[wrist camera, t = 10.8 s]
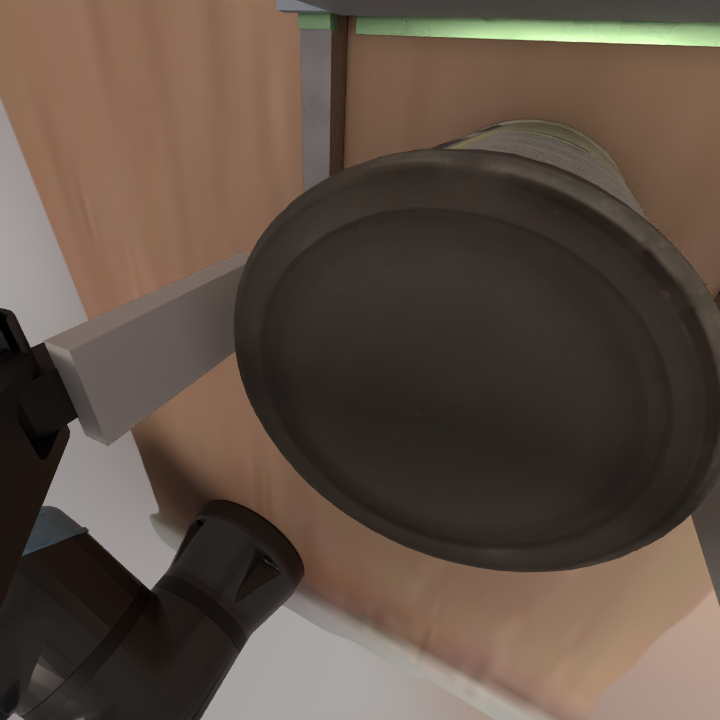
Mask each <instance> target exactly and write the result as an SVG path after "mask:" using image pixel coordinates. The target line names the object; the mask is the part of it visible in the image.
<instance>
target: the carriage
mask: <svg viewBox="0 0 720 720" xmlns="http://www.w3.org/2000/svg"><path fill="white" fill-rule="evenodd" d="M276 10H278V11H281V12H285V13H335V14H338V15H351V16H404V17H456V18H509V19H562V20H615V21H667V22H720V0H276Z"/></svg>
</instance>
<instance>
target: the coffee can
mask: <svg viewBox="0 0 720 720" xmlns="http://www.w3.org/2000/svg"><path fill="white" fill-rule="evenodd" d="M234 336H235V349H236V356H237V362H238V367H239V371H240V375H241V379H242V382H243V385H244V388H245V391H246V393H247V396H248V398H249V401H250V403H251V405H252V407H253V408H254V411H255V413H256V415H257V417H258V418H259V420H260V422H261V423H262V425H263V427H264V429H265V431H266V432H267V434H268V435H269V437H270V438H271V439H272V441H273V442H274V444H275V445H276V446H277V448H278V449H279V451H280V452H281V453H282V454H283V456H284V457H285V458H286V459H287V461H288V462H289V463H290V464H291V465H292V466H293V468H294V469H295V470H296V471H297V472H298V473H299V474H300V475H301V476H302V477H303V478H304V480H305V481H306V482H307V483H308V484H309V485H311V486H312V487H313V488H314V489H315V490H316V491H318V492H319V493H320V494H321V495H322V496H323V497H324V498H326V499H327V500H328V501H329V502H331V503H332V504H333V505H335V506H336V507H337V508H339V509H340V510H341V511H343V512H344V513H346V514H347V515H348V516H350V517H352V518H353V519H355V520H356V521H358V522H360V523H361V524H363V525H364V526H366V527H368V528H369V529H371V530H373V531H374V532H376V533H379V534H381V535H383V536H385V537H386V538H388V539H390V540H393V541H395V542H397V543H399V544H401V545H403V546H405V547H408V548H411V549H413V550H416V551H419V552H421V553H424V554H427V555H430V556H432V557H436V558H439V559H443V560H446V561H450V562H454V563H459V564H463V565H468V566H473V567H479V568H485V569H491V570H498V571H514V572H548V571H563V570H572V569H577V568H583V567H588V566H592V565H596V564H600V563H603V562H607V561H611V560H614V559H617V558H620V557H623V556H625V555H627V554H629V553H631V552H633V551H637V550H638V549H640V548H642V547H644V546H647V545H649V544H651V543H653V542H654V541H656V540H658V539H660V538H661V537H663V536H664V535H666V534H667V533H668V532H670V531H671V530H672V529H674V528H675V527H676V526H678V525H679V524H681V523H682V522H683V521H684V520H685V519H686V518H687V517H688V516H689V515H690V514H691V513H692V512H693V511H695V510H696V509H697V508H698V507H699V506H700V505H701V503H702V502H703V500H704V499H705V498H706V496H707V495H708V494H709V492H710V491H711V490H712V489H713V487H714V486H715V484H716V483H717V482H718V480H719V478H720V312H719V310H718V308H717V305H716V303H715V302H714V300H713V298H712V296H711V294H710V292H709V291H708V289H707V287H706V285H705V284H704V282H703V281H702V279H701V278H700V277H699V275H698V274H697V272H696V271H695V270H694V268H693V267H692V265H691V264H690V263H689V262H688V261H687V260H686V258H685V257H684V256H683V255H682V254H681V253H680V251H679V250H678V249H677V248H676V247H675V246H674V245H673V244H672V243H671V242H670V241H669V240H668V239H667V238H666V237H665V236H664V235H663V234H662V233H661V232H660V231H659V230H658V229H656V228H655V227H654V226H653V225H652V224H651V223H650V222H649V220H648V219H647V217H646V215H645V214H644V212H643V211H642V209H641V208H640V206H639V204H638V203H637V201H636V199H635V198H634V196H633V194H632V192H631V191H630V190H629V189H628V187H627V184H626V182H625V179H624V177H623V175H622V173H621V171H620V169H619V168H618V166H617V165H616V163H615V162H614V160H613V159H612V158H611V157H610V156H609V155H608V153H607V152H606V151H605V149H603V148H602V147H601V146H600V145H599V144H598V143H596V142H595V141H594V140H592V139H591V138H589V137H588V136H587V135H585V134H583V133H581V132H579V131H577V130H575V129H573V128H570V127H568V126H566V125H564V124H561V123H556V122H550V121H544V120H540V119H518V120H510V121H505V122H500V123H497V124H493V125H490V126H487V127H484V128H482V129H479V130H477V131H475V132H473V133H471V134H469V135H467V136H464V137H461V138H458V139H455V140H452V141H449V142H447V143H444V144H440V145H437V146H435V147H432V148H430V149H424V150H413V151H408V152H402V153H397V154H392V155H387V156H382V157H379V158H376V159H373V160H370V161H368V162H365V163H362V164H359V165H356V166H353V167H350V168H347V169H344V170H342V171H340V172H338V173H336V174H334V175H332V176H330V177H328V178H326V179H325V180H323V181H321V182H320V183H318V184H316V185H315V186H313V187H312V188H310V189H308V190H307V191H306V192H304V193H303V194H302V195H300V196H299V197H298V198H296V199H295V200H294V201H292V202H291V203H290V204H289V205H288V207H287V208H286V209H285V210H284V211H282V212H281V213H280V214H279V215H278V216H277V217H276V218H275V219H274V220H273V221H272V223H271V224H270V225H269V226H268V228H267V229H266V230H265V231H264V233H263V234H262V236H261V237H260V238H259V240H258V241H257V243H256V245H255V247H254V249H253V251H252V252H251V254H250V256H249V257H248V260H247V262H246V265H245V267H244V270H243V273H242V276H241V279H240V282H239V285H238V289H237V295H236V301H235V312H234Z"/></svg>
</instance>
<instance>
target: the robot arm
mask: <svg viewBox="0 0 720 720" xmlns="http://www.w3.org/2000/svg"><path fill="white" fill-rule="evenodd" d="M250 254H251V253H246V252H240V253H238V254H236V255H234V256H231V257H229V258H227V259H225V260H223V261H220V262H218V263H216V264H214V265H211V266H209V267H207V268H205V269H203V270H200V271H198V272H196V273H194V274H191V275H189V276H187V277H185V278H183V279H180V280H178V281H176V282H174V283H171V284H169V285H167V286H165V287H162V288H160V289H158V290H156V291H154V292H151V293H149V294H147V295H145V296H142V297H140V298H138V299H136V300H134V301H131V302H129V303H127V304H125V305H122V306H120V307H118V308H116V309H114V310H111V311H109V312H107V313H105V314H102V315H100V316H98V317H96V318H94V319H91V320H89V321H87V322H85V323H83V324H80V325H78V326H76V327H74V328H71V329H69V330H67V331H65V332H62V333H60V334H58V335H56V336H53V337H51V338H49V339H47V340H45V341H44V342H43V343H41V344H39V345H36V346H34V347H32V348H30V346H29V343H28V341H27V339H26V337H25V335H24V333H23V331H22V329H21V327H20V324H19V323H18V320H17V318H16V316H15V314H14V313H13V312H12V311H10V310H7V309H2V308H0V720H7V719H8V718H9V717H10V716H11V715H12V714H13V713H16V714H17V715H18V716H20V717H22V718H23V719H24V720H200V719H201V717H202V716H203V714H204V712H205V710H206V709H207V707H208V705H209V704H210V702H211V700H212V699H213V697H214V695H215V694H216V692H217V690H218V688H219V687H220V685H221V684H222V682H223V680H224V679H225V677H226V675H227V674H228V672H229V670H230V668H231V667H232V665H233V663H234V662H235V660H236V658H237V656H238V655H239V653H240V652H241V650H242V648H243V647H244V645H245V643H246V642H247V640H248V639H249V637H250V636H251V634H252V633H253V632H254V631H255V630H256V629H257V628H258V627H259V626H260V625H261V624H262V623H263V622H265V621H266V620H267V619H268V618H269V617H270V616H271V615H272V614H273V613H274V612H275V611H276V610H277V609H278V608H279V607H280V606H281V605H282V604H283V603H284V602H286V601H287V600H288V599H289V598H290V597H291V595H292V594H293V593H294V591H295V589H296V587H297V586H298V584H299V582H300V580H301V579H302V576H303V567H302V564H301V561H300V559H299V557H298V555H297V554H296V552H295V550H294V549H293V548H292V546H291V545H290V544H289V543H288V541H287V540H286V539H285V538H284V537H283V536H282V535H281V534H280V533H279V532H278V531H277V530H276V529H275V528H273V527H272V526H271V525H270V524H269V523H267V522H266V521H265V520H263V519H262V518H260V517H259V516H257V515H256V514H254V513H252V512H251V511H249V510H247V509H245V508H243V507H241V506H238V505H236V504H233V503H229V502H225V501H212V502H209V503H207V504H206V505H205V506H204V507H203V509H202V510H201V511H200V512H199V513H198V514H197V515H196V516H195V518H194V519H193V521H192V522H191V524H190V526H189V528H188V531H187V533H186V535H185V537H184V539H183V541H182V543H181V545H180V547H179V549H178V551H177V553H176V555H175V558H174V559H173V561H172V564H171V566H170V568H169V569H168V571H167V572H166V573H165V574H164V576H163V577H162V578H161V579H160V580H159V581H158V583H157V584H156V585H155V586H154V587H153V588H152V589H151V590H149V589H148V588H147V587H146V586H145V585H144V584H142V582H141V581H140V580H138V579H137V578H136V577H135V576H134V575H133V574H132V573H130V572H129V571H128V570H127V569H126V568H125V567H124V566H123V565H122V564H120V563H119V562H118V561H117V560H116V559H115V558H114V557H113V556H112V555H111V554H110V553H109V552H108V551H107V550H106V549H104V548H103V547H102V546H101V545H100V544H99V543H98V542H97V541H96V540H95V539H94V538H93V537H92V536H91V535H90V534H89V533H87V532H88V531H89V530H88V529H87V528H86V527H81V526H80V525H79V524H77V523H76V522H75V521H74V520H73V519H71V518H70V517H69V516H67V515H66V514H65V513H64V512H63V511H61V510H60V509H58V508H56V507H52V506H42V504H43V502H44V500H45V497H46V495H47V492H48V490H49V487H50V485H51V482H52V480H53V477H54V475H55V472H56V470H57V467H58V464H59V462H60V460H61V457H62V455H63V452H64V450H65V447H66V445H67V442H68V440H69V437H70V430H69V428H68V426H67V424H68V423H69V422H71V421H73V420H74V419H76V418H77V417H78V419H79V421H80V424H81V426H82V428H83V430H84V433H85V435H86V436H88V437H90V438H92V439H94V440H97V441H99V442H101V443H103V444H106V445H107V446H109V445H110V444H111V443H113V442H114V441H115V440H117V439H118V438H120V437H121V436H122V435H124V434H125V433H126V432H128V431H129V430H130V429H132V428H133V427H134V426H136V425H137V424H138V423H140V422H141V421H142V420H144V419H145V418H146V417H148V416H149V415H150V414H152V413H153V412H154V411H156V410H157V409H158V408H160V407H161V406H163V405H164V404H165V403H167V402H168V401H169V400H171V399H172V398H173V397H175V396H176V395H177V394H179V393H180V392H181V391H183V390H184V389H185V388H187V387H188V386H189V385H191V384H192V383H193V382H195V381H196V380H197V379H199V378H200V377H202V376H203V375H204V374H206V373H207V372H208V371H210V370H211V369H212V368H214V367H215V366H216V365H218V364H219V363H220V362H222V361H223V360H224V359H226V358H227V357H228V356H230V355H231V354H232V353H234V352H235V351H236V349H235V336H234V312H235V301H236V295H237V289H238V285H239V282H240V279H241V276H242V273H243V270H244V267H245V265H246V262H247V260H248V257H249V256H250ZM691 516H692V519H693V522H694V526H695V529H696V532H697V535H698V538H699V542H700V545H701V548H702V551H703V554H704V558H705V561H706V564H707V567H708V570H709V574H710V577H711V580H712V583H713V586H714V590H715V593H716V596H717V599H718V602H719V605H720V478H719V480H718V482H717V483H716V484H715V486H714V487H713V489H712V490H711V491H710V492H709V494H708V495H707V496H706V498H705V499H704V500H703V502H702V503H701V505H700V506H699V507H698V508H697V509H696V510H695V511H693V512H692V513H691Z"/></svg>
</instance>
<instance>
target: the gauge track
mask: <svg viewBox="0 0 720 720" xmlns="http://www.w3.org/2000/svg"><path fill="white" fill-rule="evenodd" d="M347 23H348V15H338V14H335V13H298V28H299V29H301V78H302V128H303V178H304V192H306V191H307V190H308V189H310V188H312V187H313V186H315V185H316V184H318V183H320V182H321V181H323V180H325V179H326V178H328V177H330V176H332V175H334V174H336V173H338V172H340V171H342V170H343V147H344V116H345V85H346V54H347ZM356 34H360V35H389V36H417V37H446V38H474V39H503V40H531V41H560V42H589V43H617V44H646V45H674V46H703V47H720V22H667V21H615V20H562V19H509V18H456V17H404V16H357V17H356ZM714 302H715V303H716V305H717V308H718V310H719V312H720V293H719V294H718V296H717V298H716V299H715V301H714Z"/></svg>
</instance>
